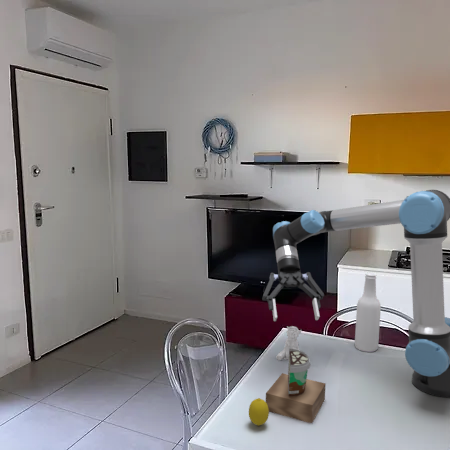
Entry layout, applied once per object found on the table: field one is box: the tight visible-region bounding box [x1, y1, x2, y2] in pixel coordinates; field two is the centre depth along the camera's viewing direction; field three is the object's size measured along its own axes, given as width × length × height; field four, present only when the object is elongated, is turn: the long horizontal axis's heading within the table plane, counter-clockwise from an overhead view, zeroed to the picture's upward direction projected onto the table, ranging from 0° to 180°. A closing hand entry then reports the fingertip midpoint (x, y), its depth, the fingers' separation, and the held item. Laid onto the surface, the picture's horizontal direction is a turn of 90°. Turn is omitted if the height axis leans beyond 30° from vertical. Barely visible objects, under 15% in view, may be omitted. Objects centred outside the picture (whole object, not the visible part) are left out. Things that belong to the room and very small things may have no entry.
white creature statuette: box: [275, 325, 303, 361], centre depth 168 cm, size 10×9×12 cm
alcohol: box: [354, 272, 382, 353], centre depth 176 cm, size 9×9×30 cm
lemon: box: [248, 397, 270, 426], centre depth 125 cm, size 6×6×8 cm
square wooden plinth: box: [265, 372, 327, 424], centre depth 136 cm, size 14×14×6 cm
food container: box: [287, 348, 312, 396], centre depth 135 cm, size 12×6×10 cm, turn 174°
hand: (296, 318), depth 144 cm, fingers open, 13 cm apart
